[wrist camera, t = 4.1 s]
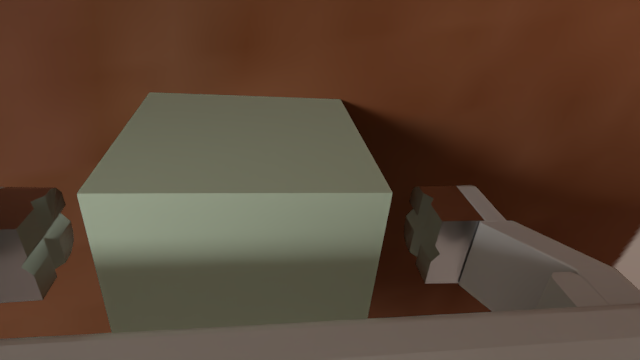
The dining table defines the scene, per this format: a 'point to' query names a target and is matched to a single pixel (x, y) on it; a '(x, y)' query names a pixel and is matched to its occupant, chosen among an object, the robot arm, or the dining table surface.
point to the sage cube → (235, 214)
